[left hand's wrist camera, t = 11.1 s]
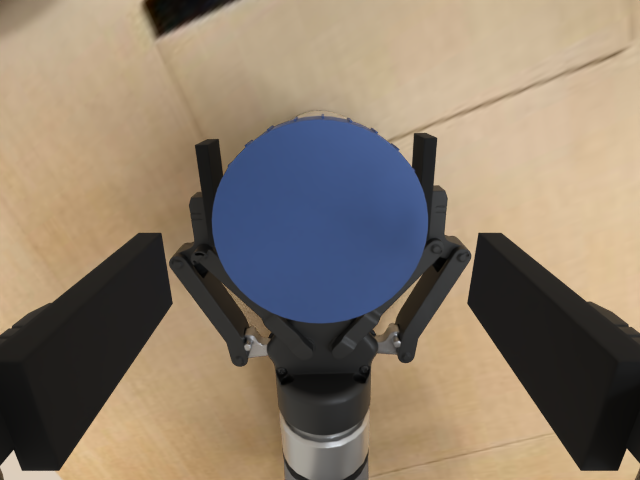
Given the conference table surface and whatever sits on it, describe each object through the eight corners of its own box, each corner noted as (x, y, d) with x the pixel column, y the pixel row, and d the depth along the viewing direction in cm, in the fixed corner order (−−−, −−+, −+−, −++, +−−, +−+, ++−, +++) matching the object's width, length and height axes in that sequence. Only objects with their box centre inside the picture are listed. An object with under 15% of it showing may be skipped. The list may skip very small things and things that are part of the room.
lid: (458, 178, 18) (474, 190, 16) (353, 329, 21) (356, 354, 19) (277, 71, 16) (270, 69, 14) (191, 252, 19) (177, 270, 18)
